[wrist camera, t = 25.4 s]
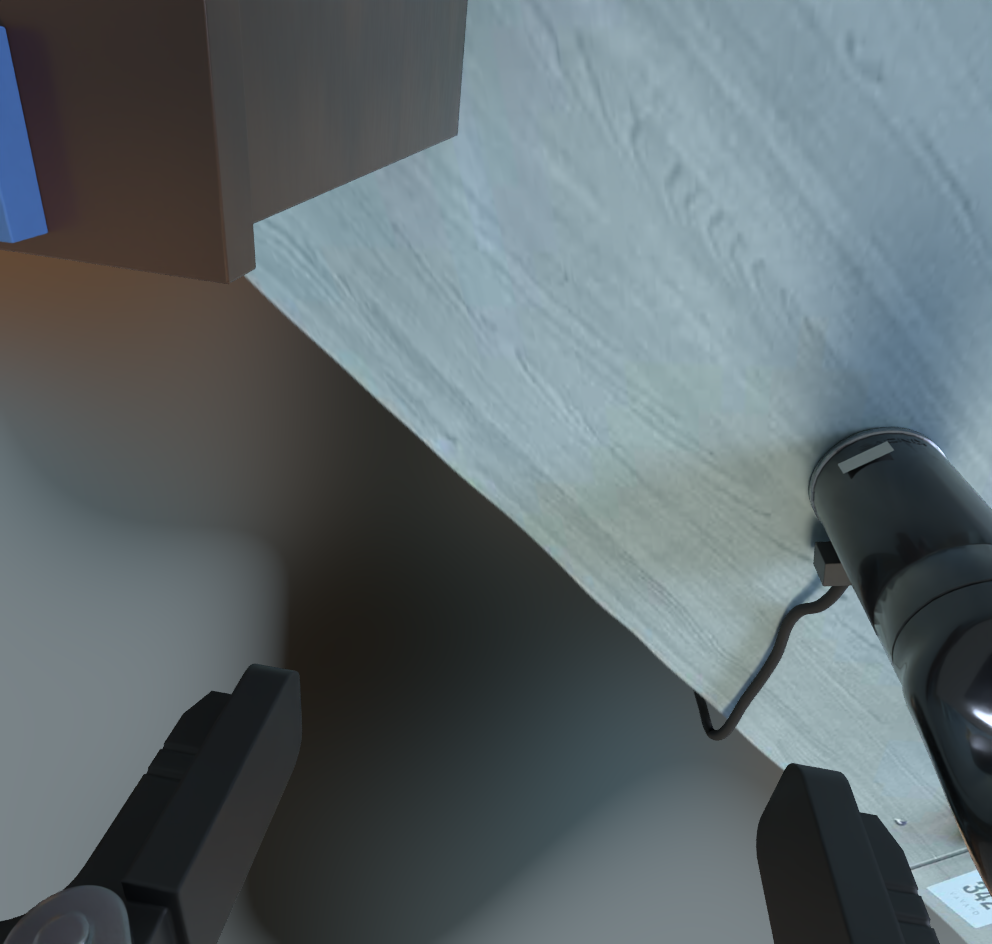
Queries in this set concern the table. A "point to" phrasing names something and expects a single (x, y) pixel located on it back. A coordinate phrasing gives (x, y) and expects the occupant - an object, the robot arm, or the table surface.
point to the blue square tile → (16, 161)
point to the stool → (218, 116)
